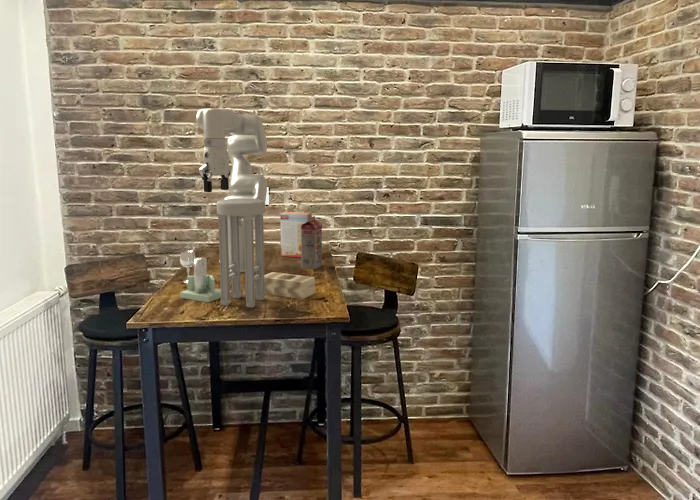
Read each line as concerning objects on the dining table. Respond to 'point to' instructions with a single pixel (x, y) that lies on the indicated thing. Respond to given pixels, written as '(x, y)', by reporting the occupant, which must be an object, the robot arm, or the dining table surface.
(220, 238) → the stool
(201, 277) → the steel axle
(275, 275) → the beige block with hole
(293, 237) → the cracker box
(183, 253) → the wineglass
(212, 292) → the v-block
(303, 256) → the juice carton
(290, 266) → the dining table surface
